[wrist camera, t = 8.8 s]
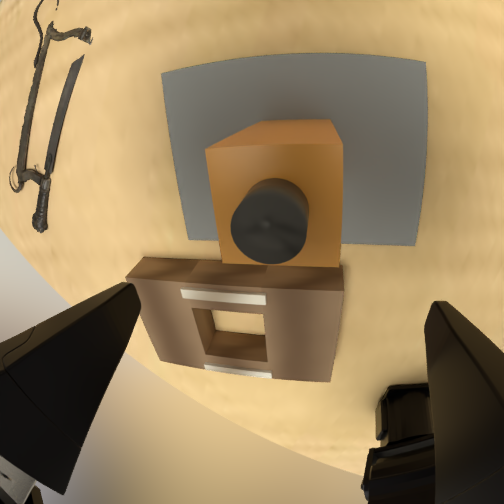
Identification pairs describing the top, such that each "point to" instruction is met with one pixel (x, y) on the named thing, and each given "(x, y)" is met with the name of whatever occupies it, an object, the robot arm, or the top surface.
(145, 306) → the socket block
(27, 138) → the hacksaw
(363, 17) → the top surface
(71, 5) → the top surface
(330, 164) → the plug
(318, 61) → the mat
